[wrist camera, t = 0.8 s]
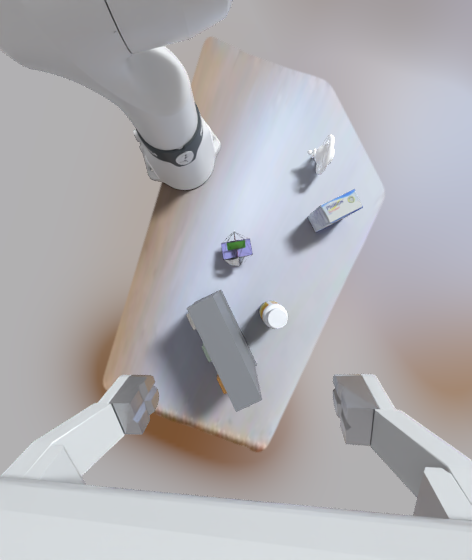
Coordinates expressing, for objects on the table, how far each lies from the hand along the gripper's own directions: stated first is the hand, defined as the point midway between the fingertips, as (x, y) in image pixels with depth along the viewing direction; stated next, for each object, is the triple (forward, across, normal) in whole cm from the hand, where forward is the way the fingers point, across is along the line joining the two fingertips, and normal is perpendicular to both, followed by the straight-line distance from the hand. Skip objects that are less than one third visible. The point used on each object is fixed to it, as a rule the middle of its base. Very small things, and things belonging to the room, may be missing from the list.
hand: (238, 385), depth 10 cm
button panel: (+38, +10, +22) cm, 46 cm away
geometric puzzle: (+46, +7, +4) cm, 46 cm away
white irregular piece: (+56, -13, -13) cm, 59 cm away
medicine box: (+51, -15, 0) cm, 54 cm away
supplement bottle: (+42, 0, +19) cm, 46 cm away
